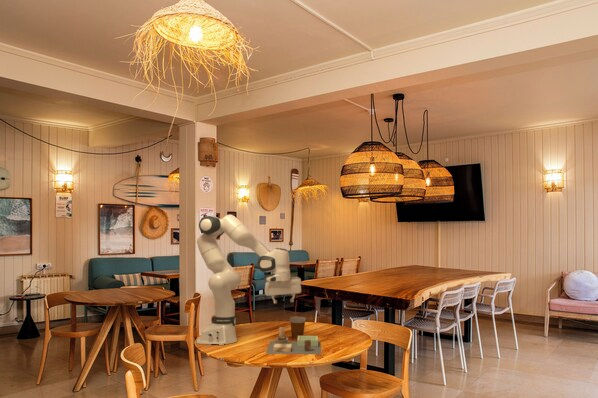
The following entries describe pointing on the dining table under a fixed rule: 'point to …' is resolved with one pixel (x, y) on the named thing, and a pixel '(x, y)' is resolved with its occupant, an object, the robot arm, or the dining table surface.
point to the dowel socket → (281, 341)
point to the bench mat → (294, 349)
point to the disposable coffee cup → (297, 326)
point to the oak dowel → (281, 333)
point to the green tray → (302, 339)
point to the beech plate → (282, 348)
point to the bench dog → (307, 345)
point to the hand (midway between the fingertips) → (283, 302)
